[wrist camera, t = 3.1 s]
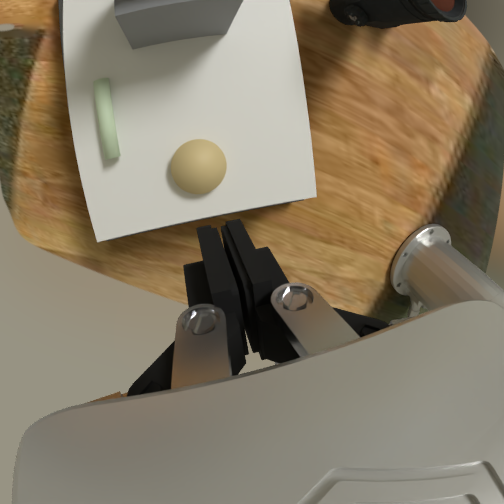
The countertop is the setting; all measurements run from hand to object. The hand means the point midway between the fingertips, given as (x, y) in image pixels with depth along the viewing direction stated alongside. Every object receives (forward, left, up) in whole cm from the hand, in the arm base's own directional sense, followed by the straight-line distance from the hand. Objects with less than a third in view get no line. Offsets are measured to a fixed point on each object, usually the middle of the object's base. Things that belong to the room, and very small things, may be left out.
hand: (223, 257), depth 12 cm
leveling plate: (+7, 0, -15) cm, 16 cm away
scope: (+15, -18, -19) cm, 30 cm away
